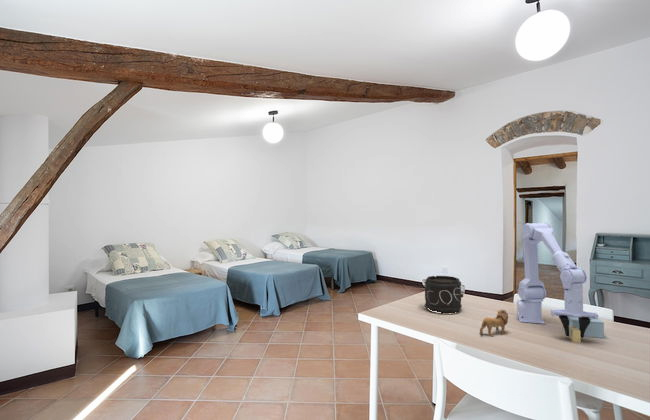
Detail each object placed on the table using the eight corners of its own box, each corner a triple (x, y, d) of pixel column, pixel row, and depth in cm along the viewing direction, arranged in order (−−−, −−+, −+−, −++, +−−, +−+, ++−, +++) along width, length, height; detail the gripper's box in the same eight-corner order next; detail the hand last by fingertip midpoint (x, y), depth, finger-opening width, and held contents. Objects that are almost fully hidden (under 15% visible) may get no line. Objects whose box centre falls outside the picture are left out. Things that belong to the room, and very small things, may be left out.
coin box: (572, 335, 134) (572, 320, 134) (564, 326, 145) (564, 312, 145) (604, 338, 131) (603, 322, 131) (593, 328, 141) (593, 314, 141)
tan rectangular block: (572, 342, 128) (572, 330, 128) (568, 337, 132) (568, 325, 132) (580, 343, 127) (580, 330, 127) (576, 338, 131) (576, 326, 131)
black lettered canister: (462, 317, 160) (461, 283, 160) (422, 312, 167) (422, 280, 167) (464, 307, 176) (463, 276, 176) (428, 303, 184) (427, 274, 184)
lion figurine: (500, 329, 143) (499, 307, 143) (512, 332, 138) (511, 310, 138) (475, 335, 137) (475, 312, 137) (487, 339, 132) (486, 316, 132)
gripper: (554, 301, 128) (554, 337, 128) (601, 304, 123) (602, 342, 123) (549, 297, 135) (549, 331, 135) (593, 299, 130) (594, 335, 130)
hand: (574, 336), depth 130 cm, fingers open, 4 cm apart
